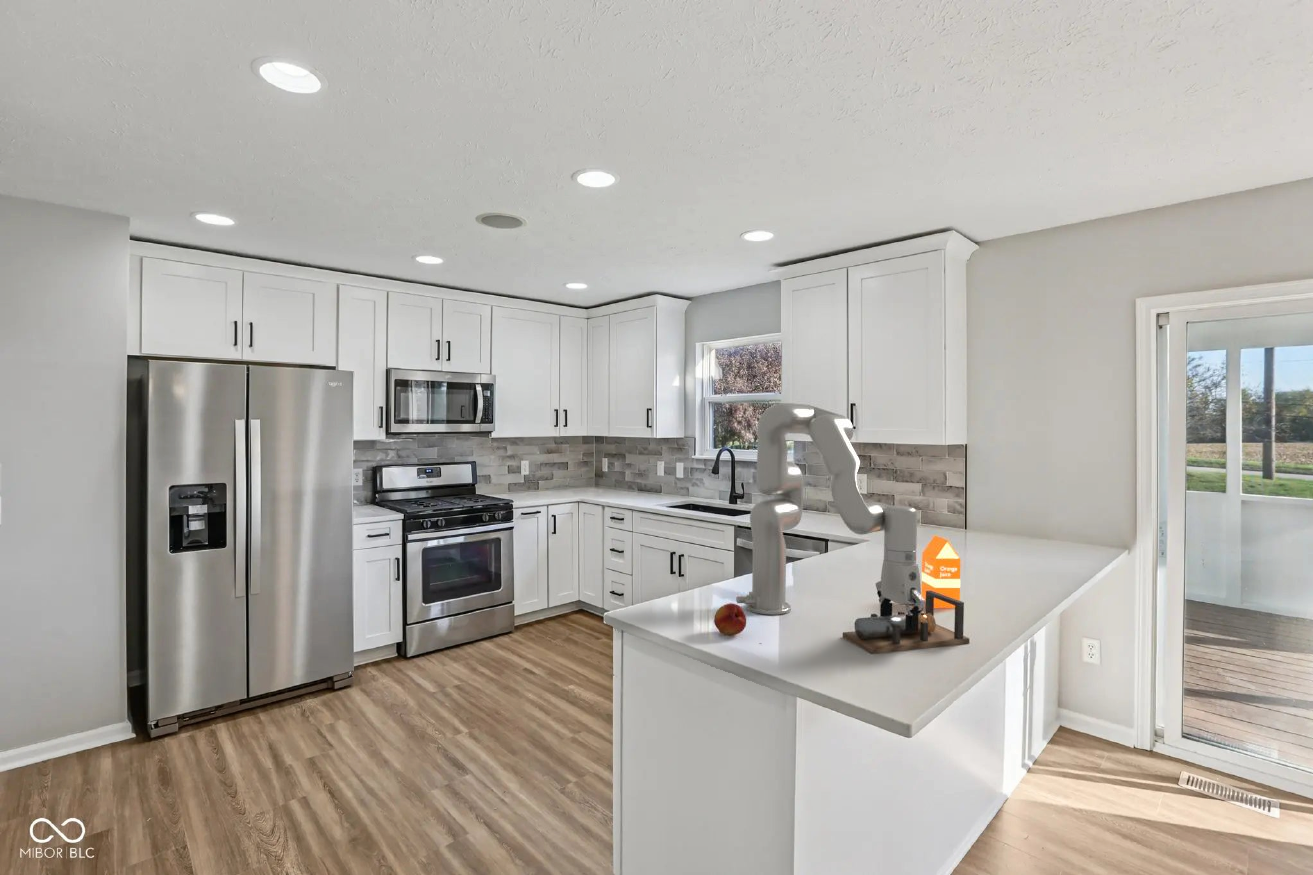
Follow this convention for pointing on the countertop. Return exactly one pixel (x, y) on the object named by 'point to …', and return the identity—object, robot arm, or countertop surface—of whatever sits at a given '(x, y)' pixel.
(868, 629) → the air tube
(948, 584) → the orange juice
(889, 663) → the countertop surface
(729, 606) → the fruit
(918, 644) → the board
